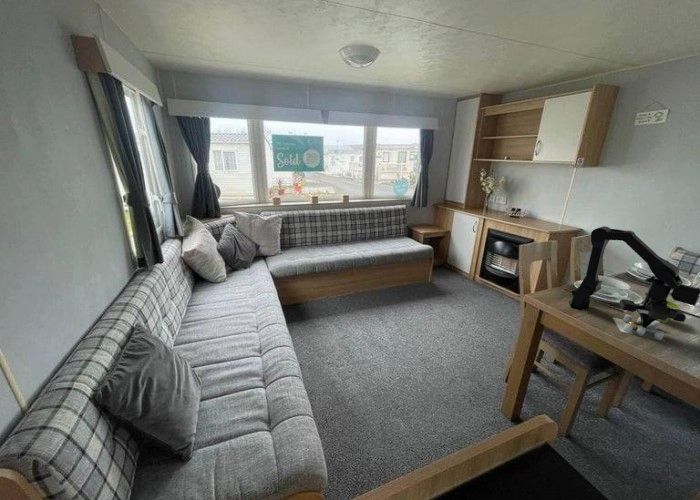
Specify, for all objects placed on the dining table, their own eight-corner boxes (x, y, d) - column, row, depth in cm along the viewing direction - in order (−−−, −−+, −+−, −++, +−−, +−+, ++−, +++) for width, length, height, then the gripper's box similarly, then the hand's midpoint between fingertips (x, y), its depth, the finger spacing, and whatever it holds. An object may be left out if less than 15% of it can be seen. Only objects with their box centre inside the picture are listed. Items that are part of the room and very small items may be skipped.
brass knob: (628, 328, 123) (630, 323, 122) (625, 324, 126) (627, 318, 125) (641, 331, 121) (643, 326, 120) (637, 326, 124) (639, 321, 123)
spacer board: (620, 332, 121) (623, 325, 120) (611, 318, 131) (614, 311, 130) (667, 343, 115) (671, 336, 113) (655, 328, 125) (658, 320, 123)
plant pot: (663, 327, 125) (671, 310, 122) (637, 315, 134) (644, 299, 131) (677, 324, 128) (685, 307, 125) (651, 313, 136) (658, 296, 133)
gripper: (634, 297, 114) (620, 331, 119) (701, 310, 106) (683, 345, 111) (624, 286, 123) (612, 317, 128) (685, 296, 115) (670, 330, 120)
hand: (643, 327), depth 122 cm, fingers closed
